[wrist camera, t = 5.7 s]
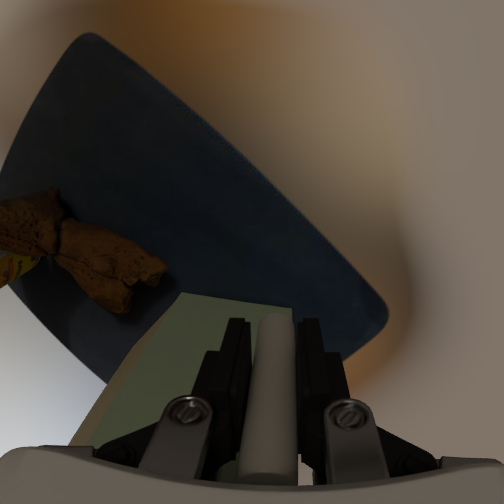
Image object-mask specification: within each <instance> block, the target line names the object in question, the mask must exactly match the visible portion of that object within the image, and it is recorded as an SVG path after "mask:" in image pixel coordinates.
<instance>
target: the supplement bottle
mask: <svg viewBox="0 0 504 504" xmlns="http://www.w3.org/2000/svg"><path fill="white" fill-rule="evenodd" d="M40 257H41V256H22V255H18V254H15V253H13V252H10V251H7V250H2V249H0V288H2V287H3V286H5V285H7V284H8V283H10V282H11V281H13V280H14V279H16V278H18V277H19V276H21V275H22V274H24V273H26V272H27V271H29V270H30V269H32V268H33V267H35V266H36V265H37V263H38V262H39V260H40Z"/></svg>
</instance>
